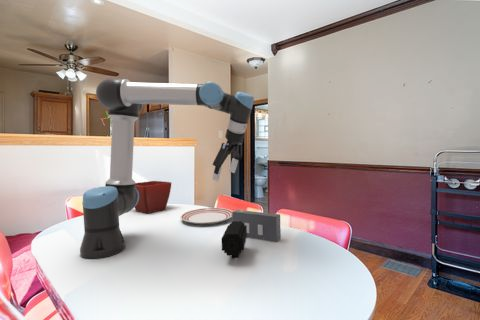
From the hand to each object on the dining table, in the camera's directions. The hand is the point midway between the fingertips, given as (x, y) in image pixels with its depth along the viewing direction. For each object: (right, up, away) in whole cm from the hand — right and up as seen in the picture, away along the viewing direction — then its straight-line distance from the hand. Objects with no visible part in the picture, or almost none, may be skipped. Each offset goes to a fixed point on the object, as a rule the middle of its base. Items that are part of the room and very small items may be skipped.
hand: (224, 175), depth 121 cm
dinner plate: (-10, -24, +22) cm, 35 cm away
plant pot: (-47, -24, +47) cm, 71 cm away
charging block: (+14, -25, -7) cm, 29 cm away
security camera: (+6, -26, -25) cm, 36 cm away
